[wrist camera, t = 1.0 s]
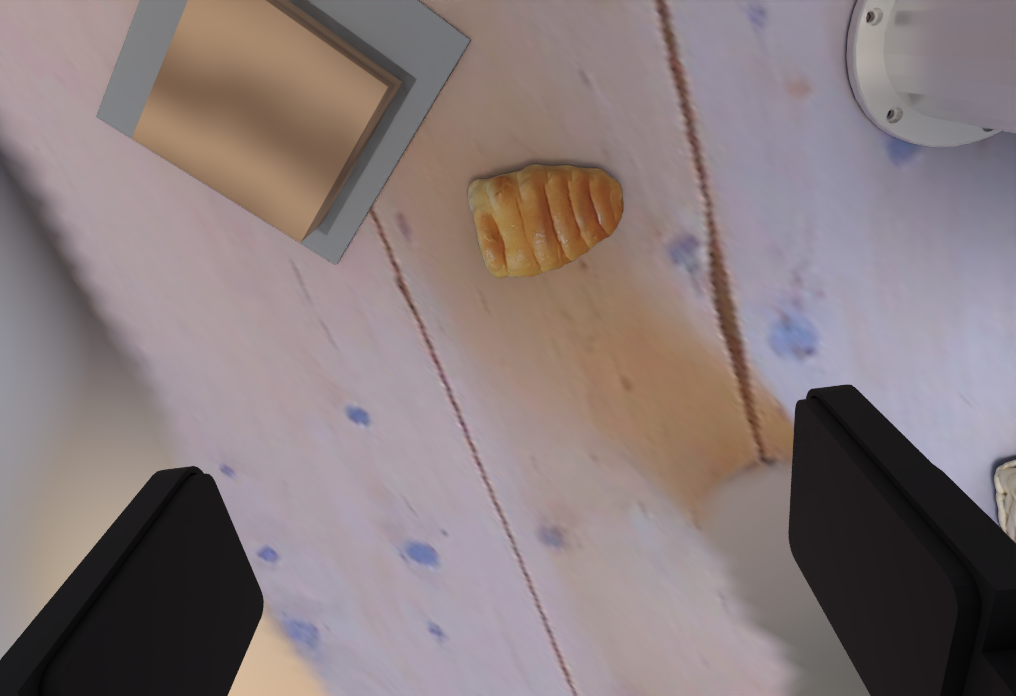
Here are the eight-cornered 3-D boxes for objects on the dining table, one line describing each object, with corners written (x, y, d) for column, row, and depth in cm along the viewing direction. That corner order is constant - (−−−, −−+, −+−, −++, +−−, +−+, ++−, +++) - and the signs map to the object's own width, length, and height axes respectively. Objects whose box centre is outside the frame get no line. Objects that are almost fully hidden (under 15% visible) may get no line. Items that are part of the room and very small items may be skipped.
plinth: (240, -50, 34) (198, -64, 30) (418, 78, 37) (404, 83, 32) (164, 129, 39) (116, 141, 34) (328, 233, 41) (305, 257, 37)
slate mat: (206, -159, 32) (201, -163, 32) (470, 40, 36) (470, 40, 36) (101, 115, 38) (95, 116, 38) (338, 262, 42) (335, 265, 41)
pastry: (609, 138, 38) (617, 148, 35) (630, 242, 41) (640, 261, 38) (460, 180, 40) (455, 194, 36) (491, 279, 43) (488, 300, 39)
